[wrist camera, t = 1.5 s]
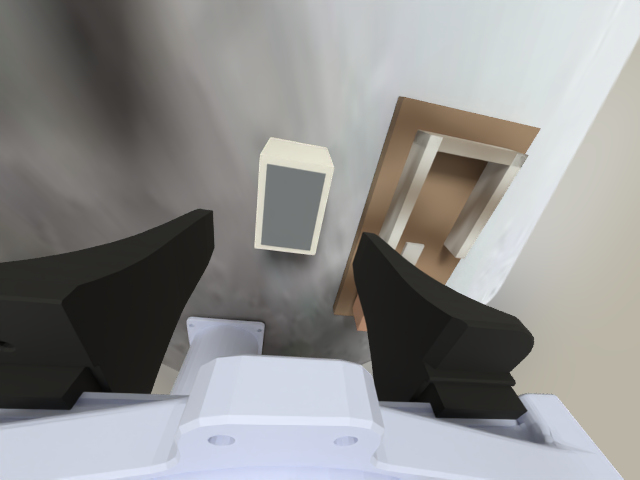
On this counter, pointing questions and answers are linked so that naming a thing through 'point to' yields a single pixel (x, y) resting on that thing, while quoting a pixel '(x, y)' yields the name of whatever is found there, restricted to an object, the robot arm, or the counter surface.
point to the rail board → (436, 186)
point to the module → (292, 196)
